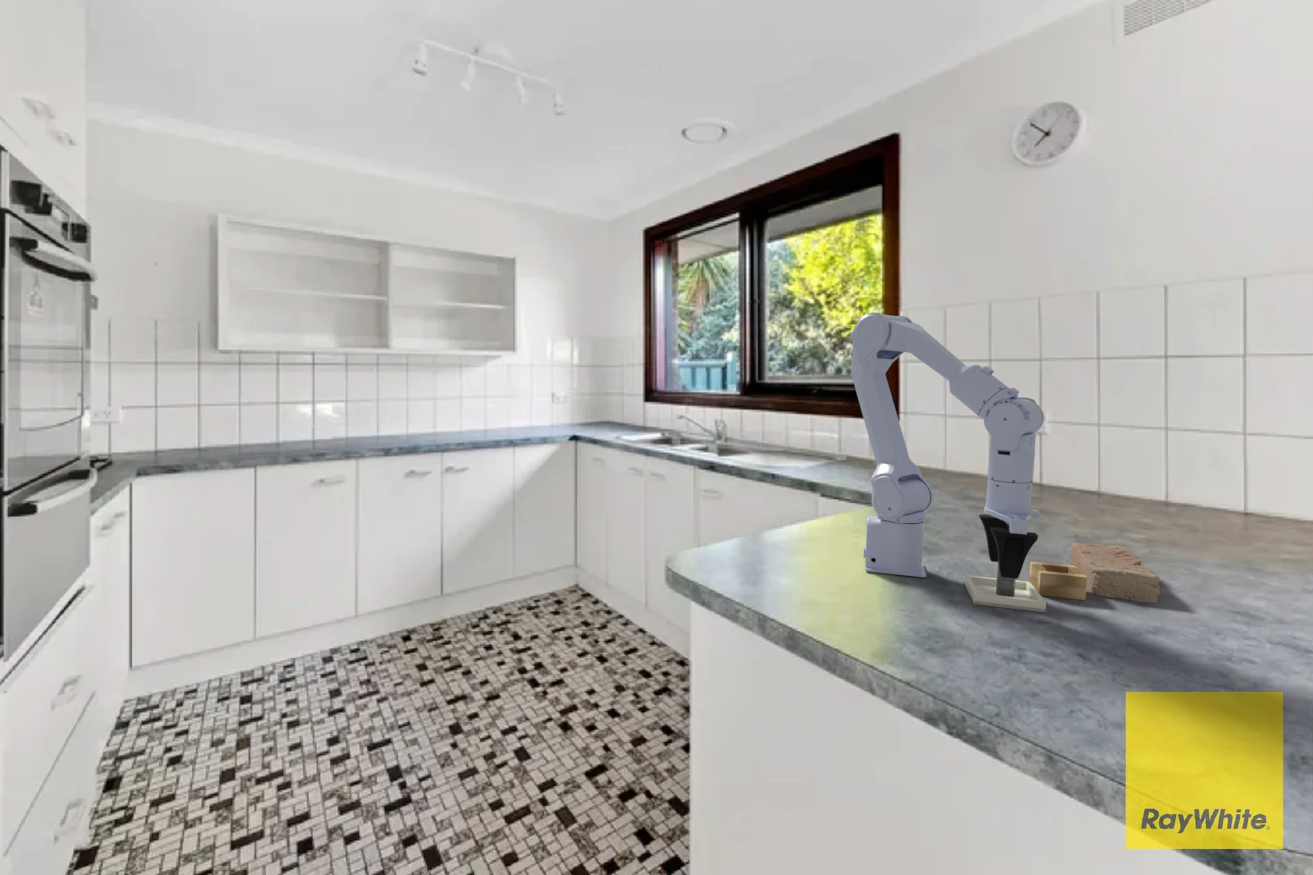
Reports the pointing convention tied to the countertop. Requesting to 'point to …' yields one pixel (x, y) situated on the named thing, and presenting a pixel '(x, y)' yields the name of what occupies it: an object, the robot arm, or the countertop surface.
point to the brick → (1115, 572)
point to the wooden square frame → (1058, 580)
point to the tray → (985, 594)
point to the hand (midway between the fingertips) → (1003, 569)
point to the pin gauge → (1005, 585)
